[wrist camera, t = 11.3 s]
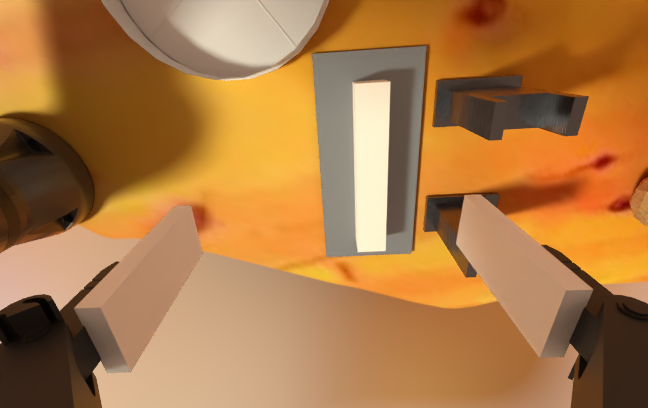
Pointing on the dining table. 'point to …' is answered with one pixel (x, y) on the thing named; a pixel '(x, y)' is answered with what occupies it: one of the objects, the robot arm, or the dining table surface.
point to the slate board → (338, 141)
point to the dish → (220, 33)
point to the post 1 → (451, 223)
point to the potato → (640, 202)
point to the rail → (371, 162)
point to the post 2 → (505, 107)
